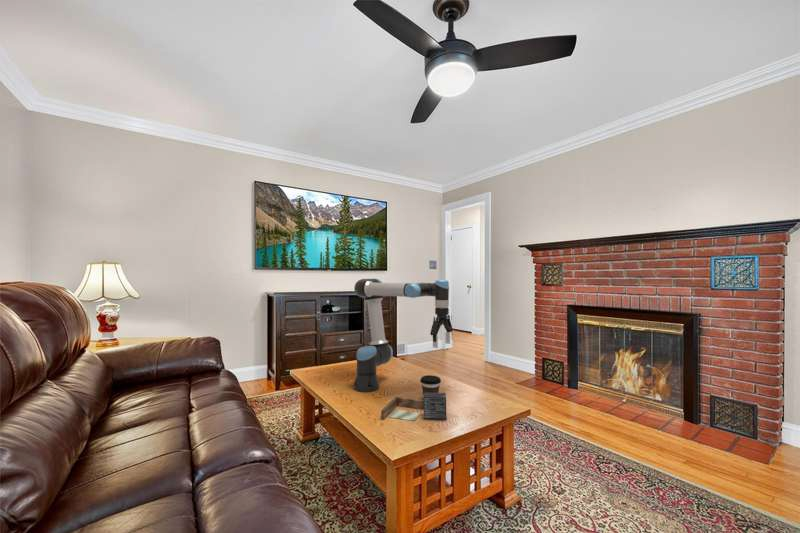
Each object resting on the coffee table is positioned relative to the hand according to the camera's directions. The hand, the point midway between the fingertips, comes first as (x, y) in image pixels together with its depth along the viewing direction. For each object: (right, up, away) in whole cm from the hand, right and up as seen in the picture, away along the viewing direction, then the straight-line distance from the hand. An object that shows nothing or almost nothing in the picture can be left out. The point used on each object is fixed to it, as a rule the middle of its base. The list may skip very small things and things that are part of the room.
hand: (441, 345), depth 184 cm
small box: (-7, -27, -29) cm, 40 cm away
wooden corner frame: (-21, -27, -26) cm, 43 cm away
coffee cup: (-7, -27, -10) cm, 30 cm away
